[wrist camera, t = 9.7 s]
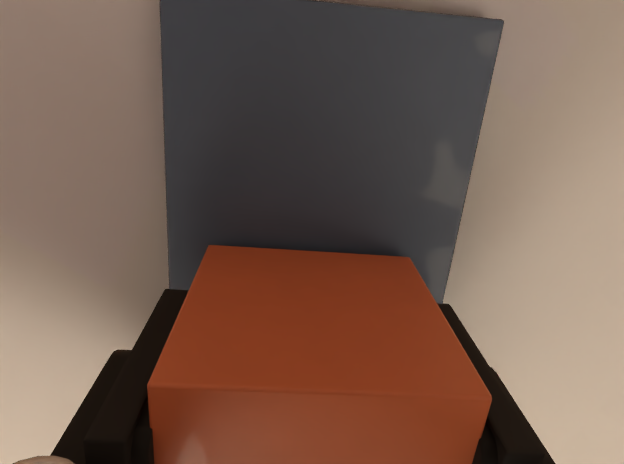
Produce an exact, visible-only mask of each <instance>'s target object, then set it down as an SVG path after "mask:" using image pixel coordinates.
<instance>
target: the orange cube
mask: <svg viewBox="0 0 624 464" xmlns="http://www.w3.org/2000/svg"><path fill="white" fill-rule="evenodd" d="M147 390H148V407H149V423H150V428H152V431H153V449H154V464H472V462H473V458H474V455H475V451H476V448H477V444H478V441H479V439H480V438H481V437H482V433H483V430H484V426H485V423H486V419H487V416H488V413H489V409H490V406H491V402H492V396H491V394H490V392H489V391H488V389H487V387H486V386H485V384H484V382H483V381H482V379H481V377H480V375H479V374H478V372H477V370H476V369H475V367H474V365H473V364H472V362H471V360H470V359H469V357H468V355H467V353H466V352H465V350H464V348H463V347H462V345H461V343H460V342H459V340H458V338H457V337H456V335H455V333H454V332H453V330H452V328H451V326H450V325H449V323H448V321H447V320H446V318H445V316H444V315H443V313H442V311H441V310H440V308H439V306H438V304H437V303H436V301H435V299H434V298H433V296H432V294H431V293H430V291H429V289H428V288H427V286H426V284H425V282H424V281H423V279H422V277H421V276H420V274H419V272H418V271H417V269H416V267H415V266H414V264H413V262H412V261H411V259H410V258H409V257H401V256H385V255H369V254H352V253H336V252H319V251H303V250H287V249H270V248H254V247H238V246H221V245H209V246H208V248H207V250H206V252H205V254H204V257H203V259H202V261H201V264H200V266H199V268H198V270H197V273H196V275H195V277H194V280H193V282H192V284H191V286H190V289H189V291H188V293H187V296H186V298H185V300H184V302H183V305H182V307H181V309H180V311H179V314H178V316H177V318H176V321H175V323H174V325H173V327H172V330H171V332H170V334H169V337H168V339H167V341H166V343H165V346H164V348H163V350H162V352H161V355H160V357H159V359H158V362H157V364H156V366H155V368H154V371H153V373H152V375H151V378H150V380H149V382H148V384H147Z"/></svg>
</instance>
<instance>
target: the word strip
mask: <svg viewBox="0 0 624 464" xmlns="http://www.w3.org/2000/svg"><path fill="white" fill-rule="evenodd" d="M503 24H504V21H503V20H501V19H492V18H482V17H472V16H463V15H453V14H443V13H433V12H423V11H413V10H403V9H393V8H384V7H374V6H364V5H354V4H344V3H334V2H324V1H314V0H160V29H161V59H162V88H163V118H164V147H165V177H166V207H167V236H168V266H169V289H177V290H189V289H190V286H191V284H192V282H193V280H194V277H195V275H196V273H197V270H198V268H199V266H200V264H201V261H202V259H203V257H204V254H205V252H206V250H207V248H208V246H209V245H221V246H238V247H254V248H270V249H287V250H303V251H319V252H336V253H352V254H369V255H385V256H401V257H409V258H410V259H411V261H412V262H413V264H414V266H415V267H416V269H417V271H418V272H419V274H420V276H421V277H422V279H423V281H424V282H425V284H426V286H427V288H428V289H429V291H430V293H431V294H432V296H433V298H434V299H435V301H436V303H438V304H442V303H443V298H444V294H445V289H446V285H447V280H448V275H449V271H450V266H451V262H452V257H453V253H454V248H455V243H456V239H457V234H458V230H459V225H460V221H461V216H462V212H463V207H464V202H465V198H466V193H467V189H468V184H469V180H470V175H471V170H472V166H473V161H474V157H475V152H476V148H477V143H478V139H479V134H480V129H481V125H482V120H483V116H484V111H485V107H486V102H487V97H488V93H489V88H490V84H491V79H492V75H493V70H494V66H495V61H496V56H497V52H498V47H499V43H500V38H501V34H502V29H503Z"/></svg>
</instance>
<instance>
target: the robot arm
mask: <svg viewBox="0 0 624 464" xmlns="http://www.w3.org/2000/svg"><path fill="white" fill-rule="evenodd" d="M188 291H189V290H177V289H165V290H164V292H163V294H162V296H161V297H160V299H159V301H158V303H157V305H156V307H155V308H154V310H153V312H152V314H151V316H150V318H149V319H148V321H147V323H146V325H145V327H144V329H143V331H142V332H141V334H140V336H139V338H138V340H137V342H136V343H135V345H134V347H133V349H132V350H116V351H114V352H113V353H112V355H111V356H110V358H109V359H108V361H107V363H106V364H105V366H104V367H103V369H102V371H101V372H100V374H99V376H98V377H97V379H96V381H95V382H94V384H93V386H92V387H91V389H90V391H89V392H88V394H87V396H86V397H85V399H84V401H83V402H82V404H81V406H80V407H79V409H78V411H77V412H76V414H75V416H74V417H73V419H72V420H71V422H70V424H69V425H68V427H67V429H66V430H65V432H64V434H63V435H62V437H61V439H60V440H59V442H58V444H57V445H56V447H55V449H54V450H53V452H52V454H51V455H50V456H36V457H32V458H28V459H24V460H20V461H17V462H15V463H13V464H154V449H153V431H152V428H150V423H149V407H148V390H147V384H148V382H149V380H150V378H151V375H152V373H153V371H154V368H155V366H156V364H157V362H158V359H159V357H160V355H161V352H162V350H163V348H164V346H165V343H166V341H167V339H168V337H169V334H170V332H171V330H172V327H173V325H174V323H175V321H176V318H177V316H178V314H179V311H180V309H181V307H182V305H183V302H184V300H185V298H186V296H187V293H188ZM437 304H438V303H437ZM438 306H439V308H440V310H441V311H442V313H443V315H444V316H445V318H446V320H447V321H448V323H449V325H450V326H451V328H452V330H453V332H454V333H455V335H456V337H457V338H458V340H459V342H460V343H461V345H462V347H463V348H464V350H465V352H466V353H467V355H468V357H469V359H470V360H471V362H472V364H473V365H474V367H475V369H476V370H477V372H478V374H479V375H480V377H481V379H482V381H483V382H484V384H485V386H486V387H487V389H488V391H489V392H490V394H491V396H492V402H491V406H490V409H489V413H488V416H487V419H486V423H485V426H484V430H483V433H482V437H481V438H480V439H479V441H478V444H477V448H476V451H475V455H474V458H473V462H472V464H555V462H554V461H553V459H552V458H551V456H550V455H549V453H548V452H547V450H546V449H545V447H544V446H543V444H542V442H541V441H540V439H539V438H538V436H537V435H536V433H535V432H534V430H533V429H532V427H531V426H530V424H529V422H528V421H527V419H526V418H525V416H524V415H523V413H522V412H521V410H520V409H519V407H518V406H517V404H516V402H515V401H514V399H513V398H512V396H511V395H510V393H509V392H508V390H507V389H506V387H505V385H504V384H503V382H502V381H501V379H500V378H499V376H498V375H497V373H496V372H495V371H494V370H493V369H492V368H491V367H489V365H488V364H487V362H486V361H485V359H484V357H483V356H482V354H481V353H480V351H479V350H478V348H477V346H476V345H475V343H474V342H473V340H472V339H471V337H470V336H469V334H468V332H467V331H466V329H465V328H464V326H463V325H462V323H461V321H460V320H459V318H458V317H457V315H456V314H455V312H454V311H453V309H452V307H451V306H450V305H449V304H438Z"/></svg>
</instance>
